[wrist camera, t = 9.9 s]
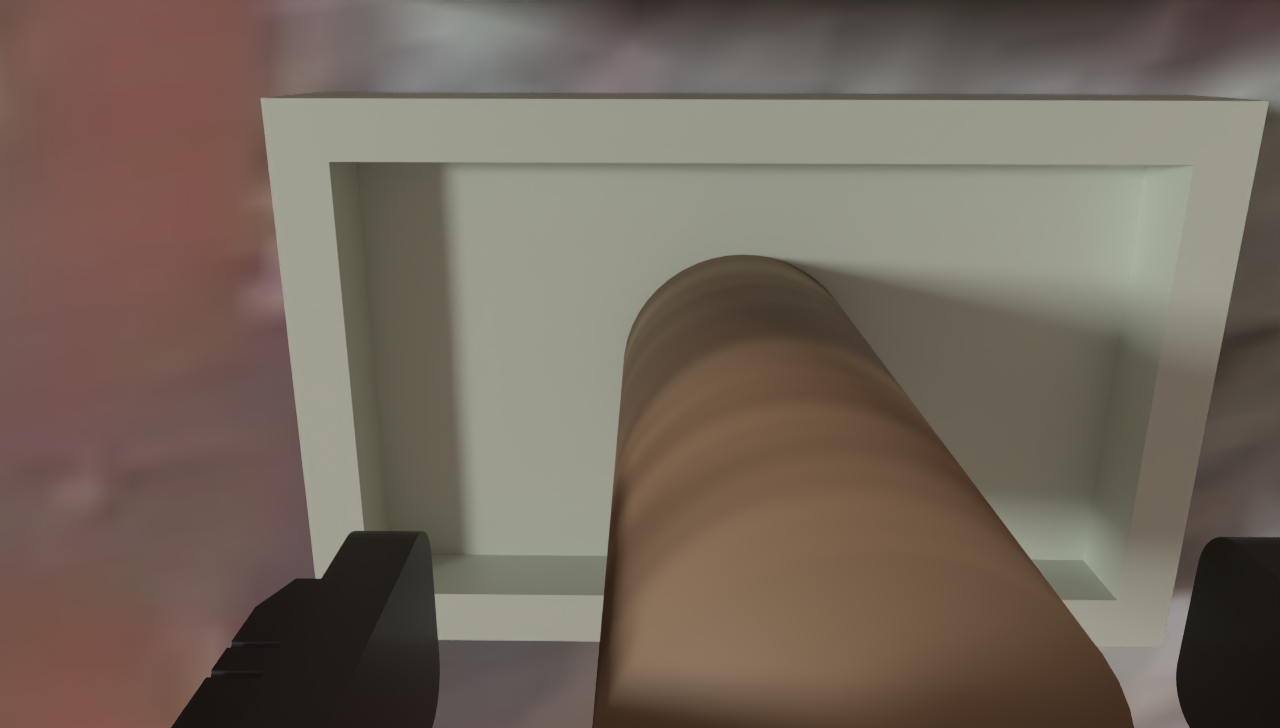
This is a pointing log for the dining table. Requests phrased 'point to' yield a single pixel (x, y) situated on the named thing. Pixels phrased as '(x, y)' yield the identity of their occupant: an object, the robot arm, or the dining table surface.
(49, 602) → the dining table surface
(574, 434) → the sage tray
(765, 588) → the walnut pepper mill
